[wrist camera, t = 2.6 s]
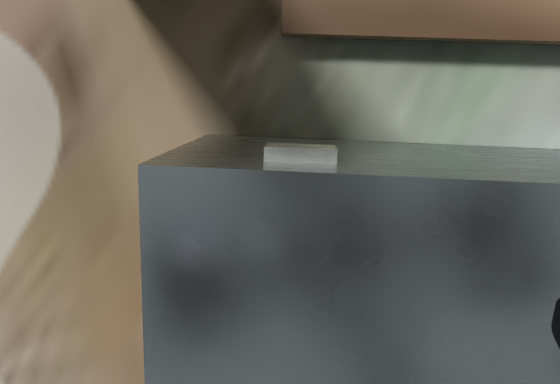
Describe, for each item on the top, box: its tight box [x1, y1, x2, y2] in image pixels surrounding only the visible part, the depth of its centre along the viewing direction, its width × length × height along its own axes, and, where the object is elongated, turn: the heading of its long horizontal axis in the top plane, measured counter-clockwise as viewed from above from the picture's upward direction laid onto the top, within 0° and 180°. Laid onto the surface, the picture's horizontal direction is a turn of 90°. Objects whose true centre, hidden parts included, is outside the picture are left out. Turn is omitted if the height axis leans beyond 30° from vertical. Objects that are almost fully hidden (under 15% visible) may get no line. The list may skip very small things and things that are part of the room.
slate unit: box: [138, 135, 560, 384], centre depth 16 cm, size 9×20×8 cm, turn 88°
